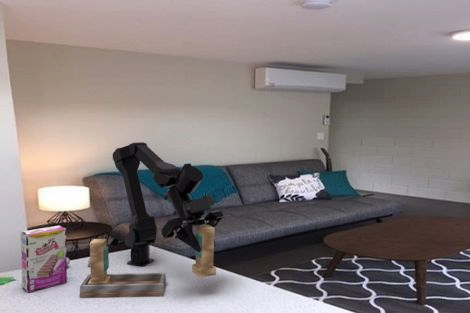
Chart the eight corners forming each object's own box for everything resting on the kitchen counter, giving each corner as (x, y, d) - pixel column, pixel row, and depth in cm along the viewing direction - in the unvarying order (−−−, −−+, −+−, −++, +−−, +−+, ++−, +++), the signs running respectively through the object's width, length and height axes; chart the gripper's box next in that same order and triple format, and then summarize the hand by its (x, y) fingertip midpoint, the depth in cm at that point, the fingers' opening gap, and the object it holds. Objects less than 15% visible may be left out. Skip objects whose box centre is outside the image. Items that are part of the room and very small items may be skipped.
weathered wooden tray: (79, 297, 116) (78, 246, 115) (89, 283, 126) (88, 236, 125) (162, 296, 117) (162, 245, 116) (166, 282, 127) (165, 235, 126)
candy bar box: (28, 293, 118) (25, 234, 117) (21, 288, 122) (19, 231, 120) (68, 282, 126) (66, 227, 125) (61, 278, 130) (59, 224, 128)
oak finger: (208, 269, 123) (210, 224, 122) (216, 275, 119) (218, 228, 118) (191, 271, 121) (193, 225, 120) (199, 277, 117) (201, 229, 116)
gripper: (167, 190, 114) (193, 240, 107) (220, 182, 127) (246, 227, 120) (150, 214, 120) (174, 263, 114) (202, 205, 133) (226, 248, 126)
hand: (207, 249), depth 118 cm, fingers closed on oak finger, 5 cm apart
